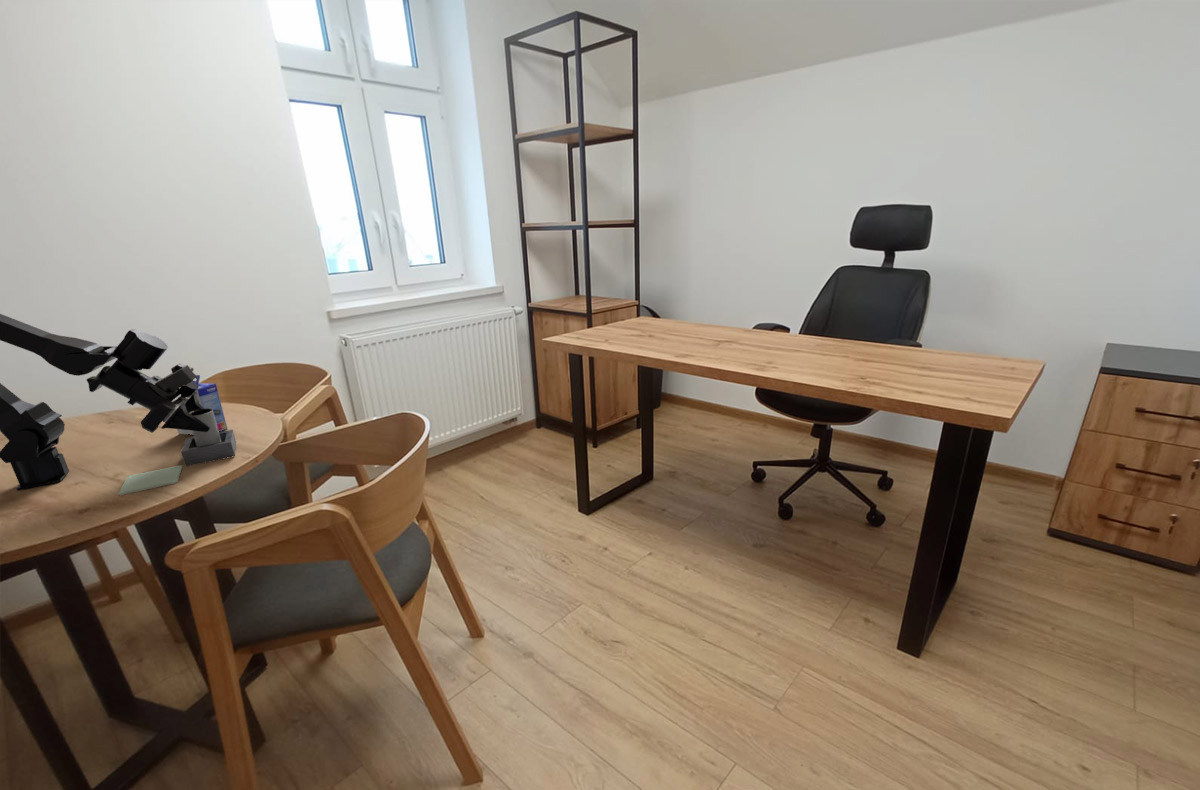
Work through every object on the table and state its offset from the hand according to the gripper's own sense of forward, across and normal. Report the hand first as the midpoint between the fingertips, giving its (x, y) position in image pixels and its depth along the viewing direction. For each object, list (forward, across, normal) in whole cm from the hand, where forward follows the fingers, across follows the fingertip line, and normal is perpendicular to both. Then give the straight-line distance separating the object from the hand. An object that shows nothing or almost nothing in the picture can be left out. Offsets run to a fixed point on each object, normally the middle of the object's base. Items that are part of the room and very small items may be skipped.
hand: (212, 426), depth 117 cm
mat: (-2, -10, +11) cm, 15 cm away
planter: (+4, 0, +6) cm, 7 cm away
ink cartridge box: (-1, +18, +10) cm, 21 cm away
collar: (+4, 0, +6) cm, 7 cm away
